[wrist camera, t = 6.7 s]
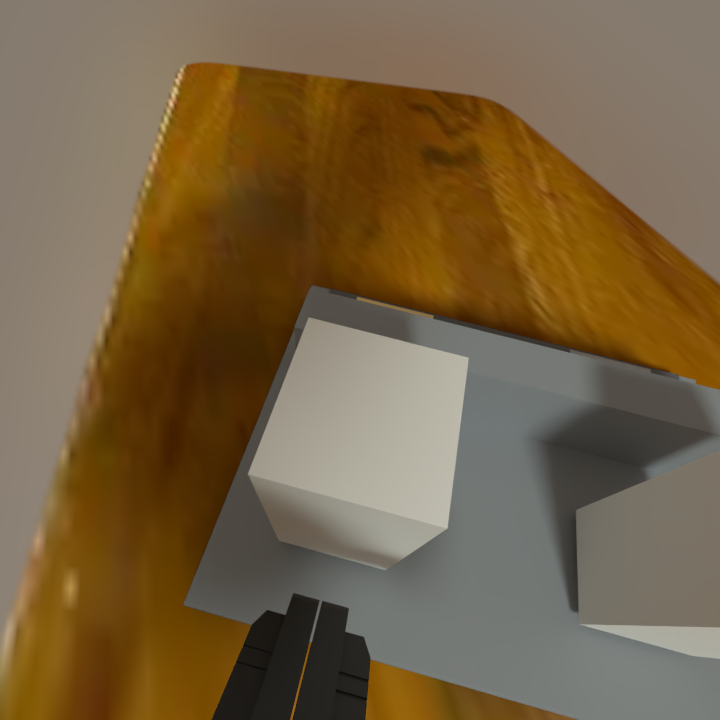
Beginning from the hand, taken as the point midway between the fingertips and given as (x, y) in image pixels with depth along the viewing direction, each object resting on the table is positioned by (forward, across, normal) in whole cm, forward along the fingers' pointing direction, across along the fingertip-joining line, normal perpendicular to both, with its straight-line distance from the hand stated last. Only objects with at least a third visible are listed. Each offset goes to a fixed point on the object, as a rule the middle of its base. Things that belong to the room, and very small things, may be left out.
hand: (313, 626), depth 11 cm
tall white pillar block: (+6, 0, 0) cm, 6 cm away
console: (+8, -6, 0) cm, 10 cm away
